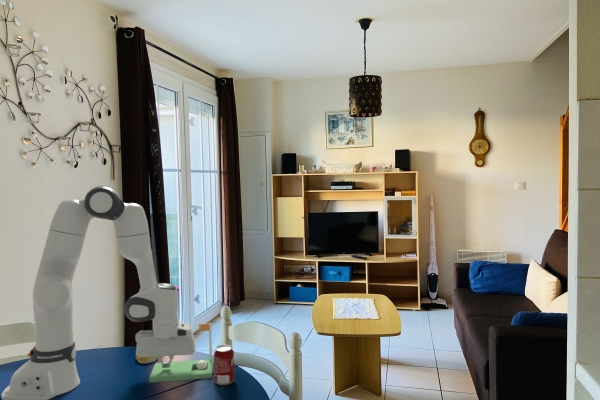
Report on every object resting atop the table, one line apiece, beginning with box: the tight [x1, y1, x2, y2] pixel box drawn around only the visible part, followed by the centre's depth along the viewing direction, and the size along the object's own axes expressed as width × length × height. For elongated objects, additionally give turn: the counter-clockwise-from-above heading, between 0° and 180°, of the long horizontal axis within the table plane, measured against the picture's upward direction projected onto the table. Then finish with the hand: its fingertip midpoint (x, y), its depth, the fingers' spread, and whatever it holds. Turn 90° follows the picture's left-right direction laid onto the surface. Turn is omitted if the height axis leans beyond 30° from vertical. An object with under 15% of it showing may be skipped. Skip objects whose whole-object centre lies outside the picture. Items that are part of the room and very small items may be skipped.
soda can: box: [213, 344, 235, 387], centre depth 148 cm, size 7×7×12 cm
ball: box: [197, 359, 207, 370], centre depth 157 cm, size 4×4×4 cm
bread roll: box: [135, 355, 159, 364], centre depth 168 cm, size 8×9×4 cm
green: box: [148, 322, 214, 383], centre depth 155 cm, size 21×12×16 cm, turn 99°
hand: (166, 367), depth 155 cm, fingers closed
